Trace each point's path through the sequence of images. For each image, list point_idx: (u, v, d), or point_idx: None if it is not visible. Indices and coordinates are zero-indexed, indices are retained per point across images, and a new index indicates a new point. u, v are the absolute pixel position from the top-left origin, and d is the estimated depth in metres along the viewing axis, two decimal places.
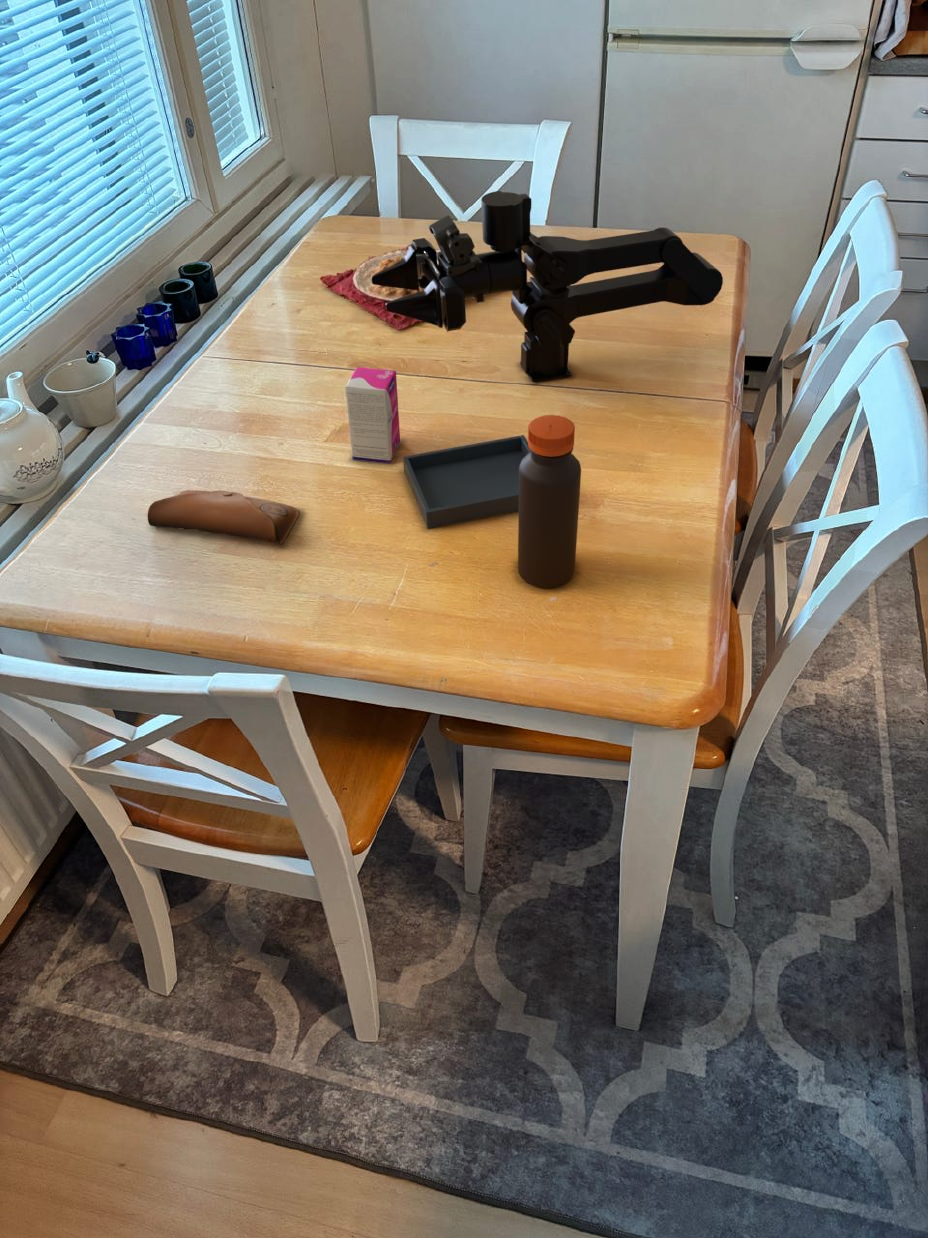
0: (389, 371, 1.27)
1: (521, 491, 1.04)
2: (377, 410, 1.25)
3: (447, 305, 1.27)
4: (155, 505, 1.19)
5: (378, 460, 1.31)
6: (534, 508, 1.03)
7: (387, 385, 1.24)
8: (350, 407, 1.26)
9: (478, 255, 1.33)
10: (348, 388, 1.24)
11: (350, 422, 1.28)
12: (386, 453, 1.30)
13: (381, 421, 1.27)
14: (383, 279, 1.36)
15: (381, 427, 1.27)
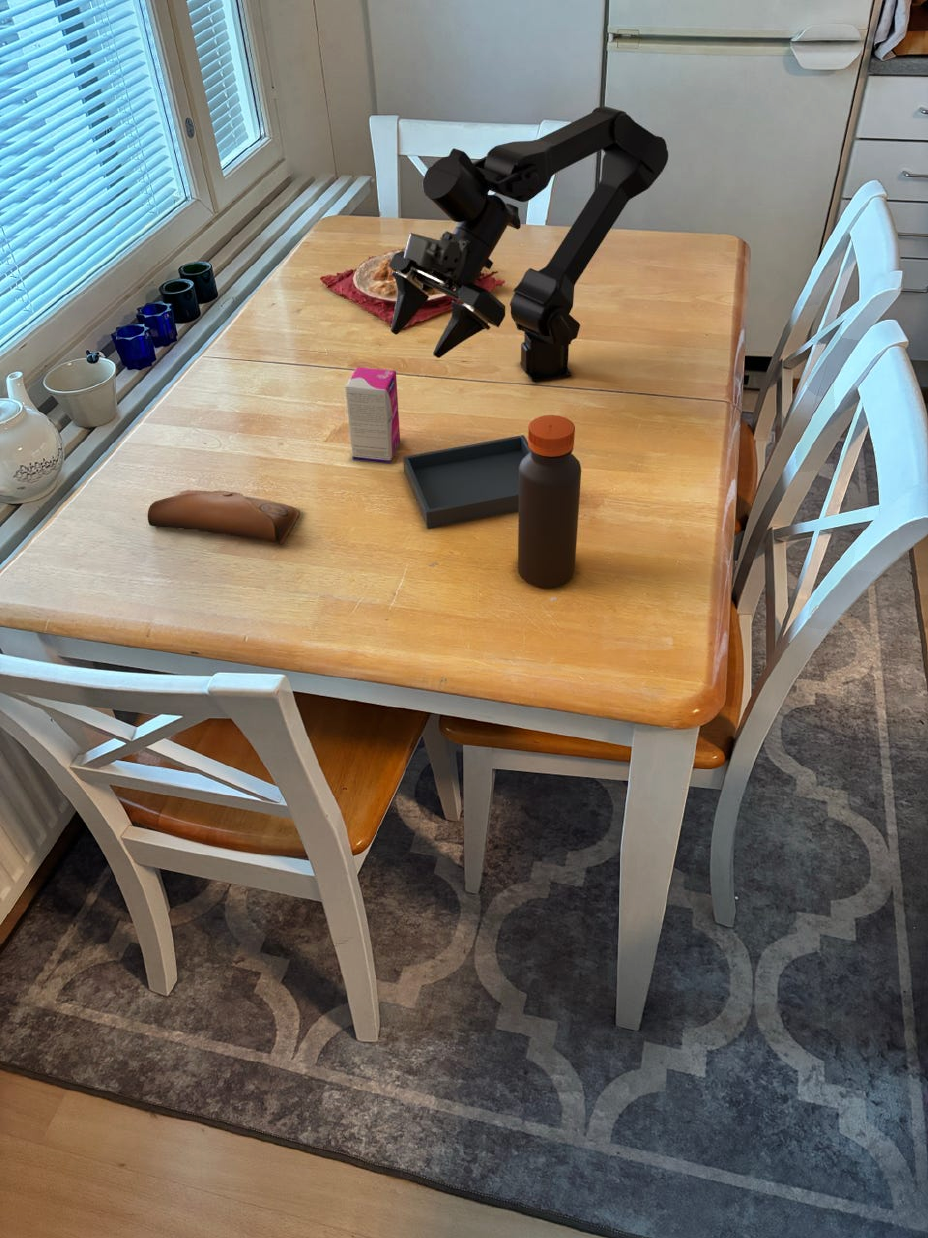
0: (389, 371, 1.27)
1: (521, 491, 1.04)
2: (377, 410, 1.25)
3: (485, 314, 1.21)
4: (155, 505, 1.19)
5: (378, 460, 1.31)
6: (534, 508, 1.03)
7: (387, 385, 1.24)
8: (350, 407, 1.26)
9: (458, 234, 1.23)
10: (348, 388, 1.24)
11: (350, 422, 1.28)
12: (386, 453, 1.30)
13: (381, 421, 1.27)
14: (401, 323, 1.30)
15: (381, 427, 1.27)
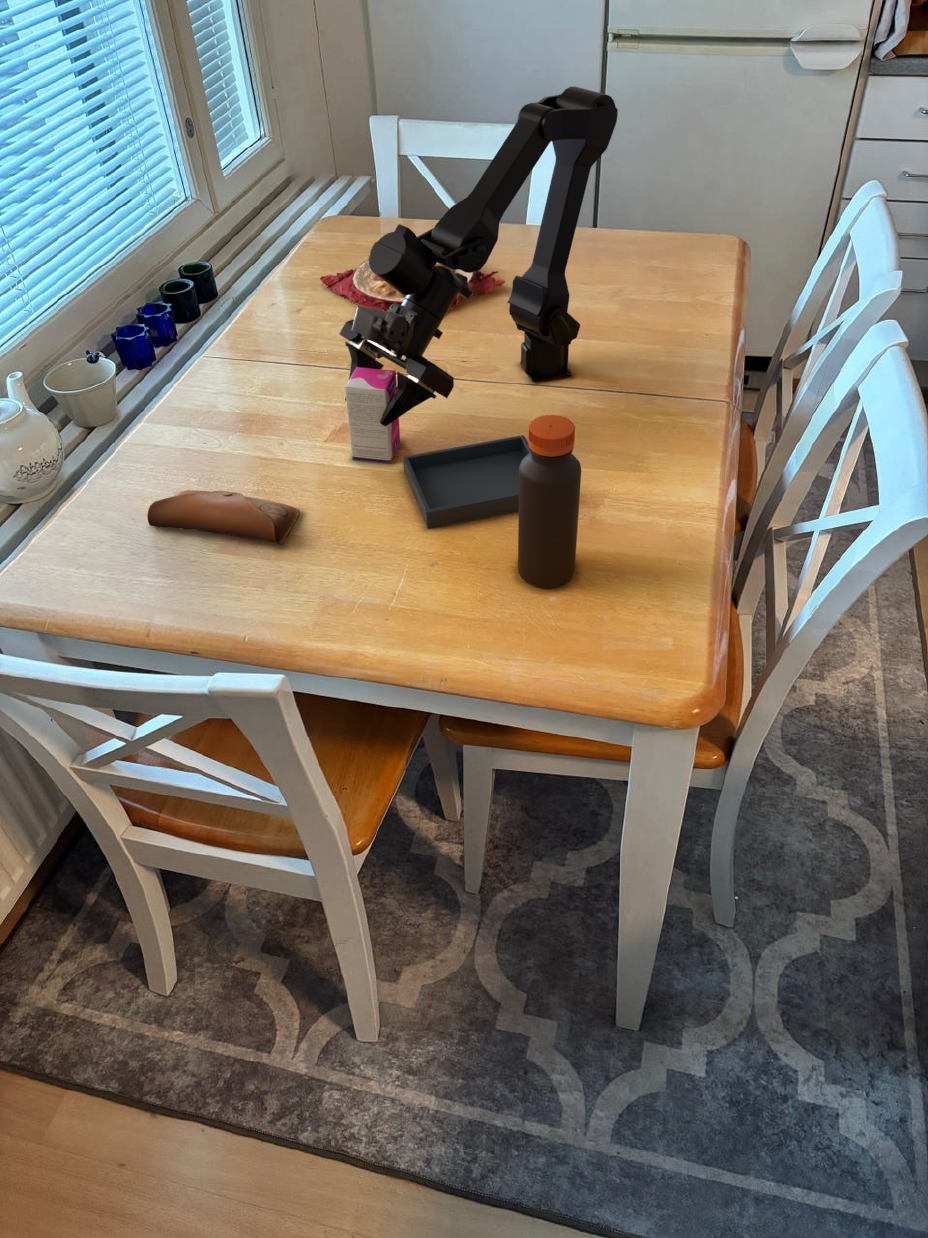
0: (389, 371, 1.27)
1: (521, 491, 1.04)
2: (377, 410, 1.25)
3: (432, 387, 1.21)
4: (155, 505, 1.19)
5: (378, 460, 1.31)
6: (534, 507, 1.03)
7: (387, 385, 1.24)
8: (350, 407, 1.26)
9: (406, 305, 1.24)
10: (348, 388, 1.24)
11: (350, 422, 1.28)
12: (386, 453, 1.30)
13: None
14: None
15: (381, 427, 1.27)
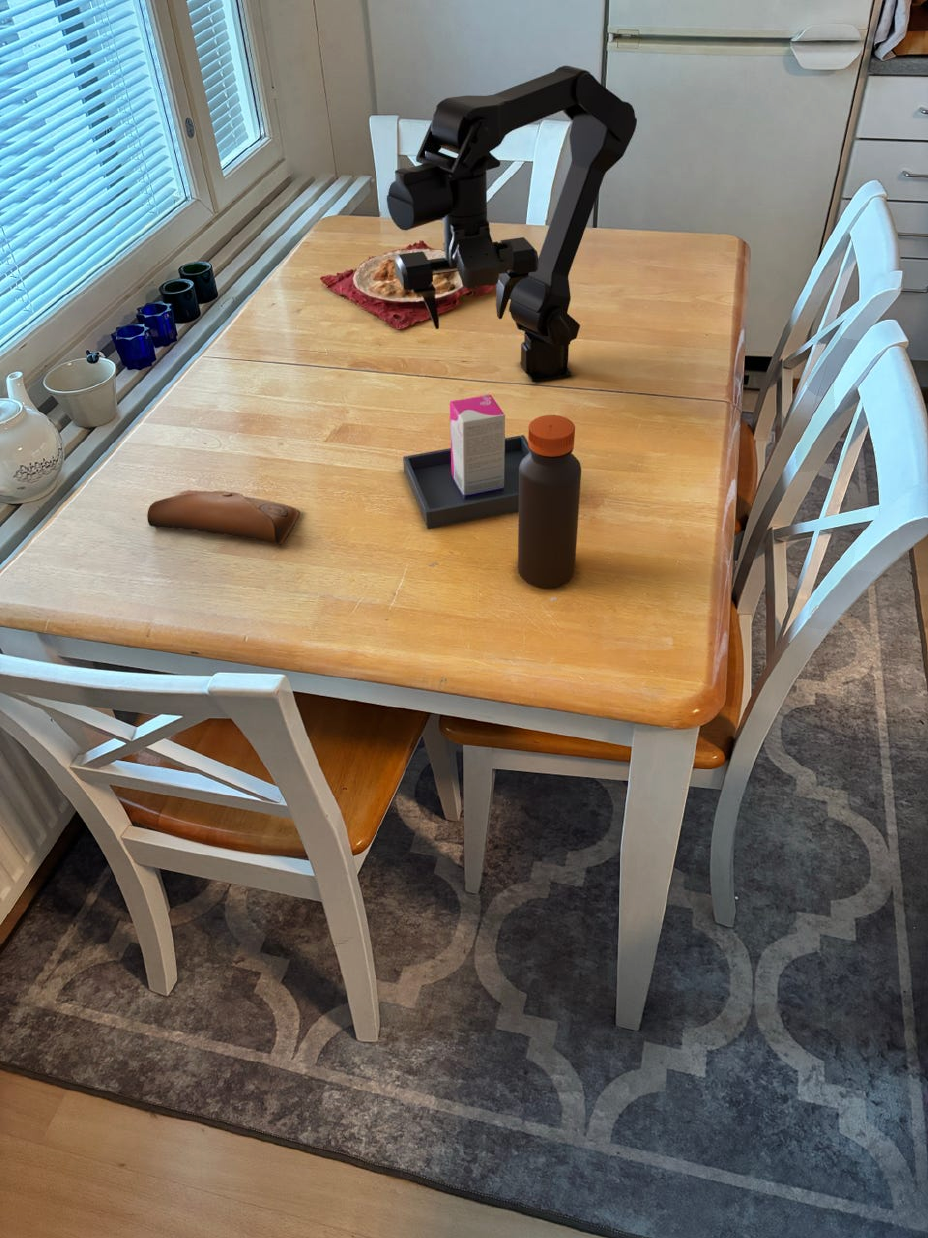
0: (486, 396, 1.20)
1: (521, 491, 1.04)
2: (495, 438, 1.19)
3: None
4: (155, 505, 1.19)
5: (491, 491, 1.24)
6: (534, 507, 1.03)
7: (500, 409, 1.18)
8: (467, 443, 1.18)
9: (470, 223, 1.21)
10: (467, 423, 1.16)
11: (465, 459, 1.19)
12: (500, 481, 1.23)
13: (498, 448, 1.20)
14: None
15: (498, 455, 1.20)
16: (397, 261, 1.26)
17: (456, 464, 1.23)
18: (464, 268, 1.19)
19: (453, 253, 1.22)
